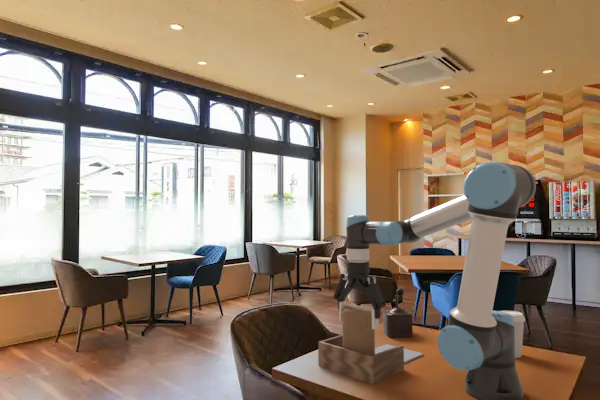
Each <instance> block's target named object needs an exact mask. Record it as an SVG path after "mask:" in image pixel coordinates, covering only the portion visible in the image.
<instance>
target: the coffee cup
mask: <svg viewBox="0 0 600 400" xmlns="http://www.w3.org/2000/svg"><path fill="white" fill-rule="evenodd" d="M499 311H500V312H505V313H509V314H511V315H512V316H513V319H514V325H515V328H514V329H515V359H519V358H522V355H523V341H524V324H525V322H526V318H525V315H524V314H523V313H522V312H519V311H515V310H499Z"/></svg>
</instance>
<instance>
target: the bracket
mask: <svg viewBox="0 0 600 400" xmlns="http://www.w3.org/2000/svg"><path fill="white" fill-rule="evenodd" d="M317 344H318V346H317V347H318V348H317V350H318V352H317V353H318V355H317V356H318V366H319V367H322V368H325V369H327V370H330V371H332V372H336V373H339V374H340V375H344V376H347V377H350V378H353V379H356V380H358V381H361V382H365V383H367V384H370V385H374V384H377V383H379V382H380V381H383V380H384V379H388V378H389V377H391V376H393V375H396V374H399V373H400V372H403V371H404V370H405V364H404V349H405V348H404V344H399V345H396V347H393V348H391V349H388V350H385V351H383V352H380V353H378V354H375V355H372V356H369V355H366V354H363V353H359V352H356V351H352V350H349V349H345V348H343V334H340V335H336V336H334V337H329V338H327V339H323V340H319V341H318V343H317Z"/></svg>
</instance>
